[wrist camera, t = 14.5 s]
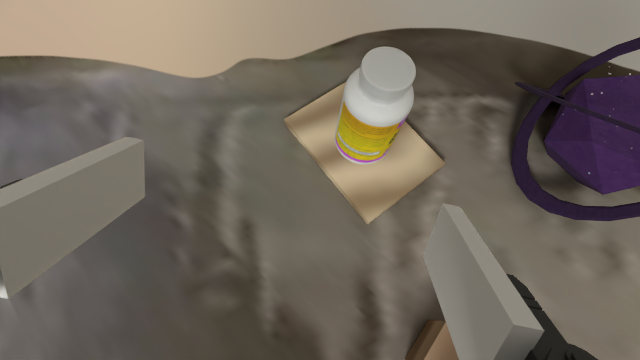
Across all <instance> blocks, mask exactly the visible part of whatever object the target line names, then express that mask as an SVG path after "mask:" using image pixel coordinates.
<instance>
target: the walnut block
mask: <svg viewBox="0 0 640 360" xmlns="http://www.w3.org/2000/svg"><path fill="white" fill-rule="evenodd" d="M405 360H459V358H458V356H457V353H456V350H455V347H454V344H453V341H452V338H451V335H450V332H449V330H448V327H447V324H446V321H440V320H428V322H427V323H426V325H425V327H424V328H423V330H422V332H421V333H420V335H419V337H418V338H417V340H416V342H415V343H414V345H413V346H412V348H411V350H410V351H409V353H408V355H407V356H406V358H405Z"/></svg>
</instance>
